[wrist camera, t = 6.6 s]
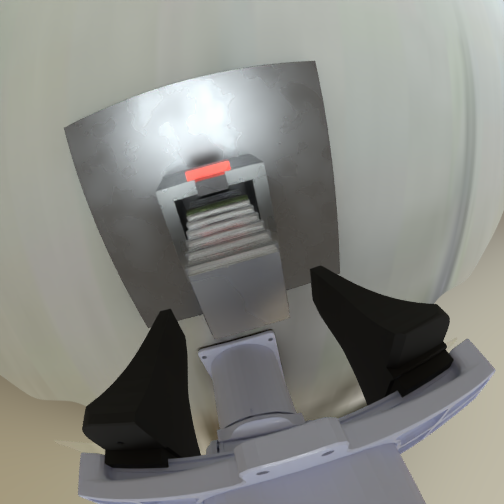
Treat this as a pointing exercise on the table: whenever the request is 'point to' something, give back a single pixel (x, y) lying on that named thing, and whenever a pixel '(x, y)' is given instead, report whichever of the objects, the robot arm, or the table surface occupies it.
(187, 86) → the stand base
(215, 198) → the lift column
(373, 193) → the table surface
